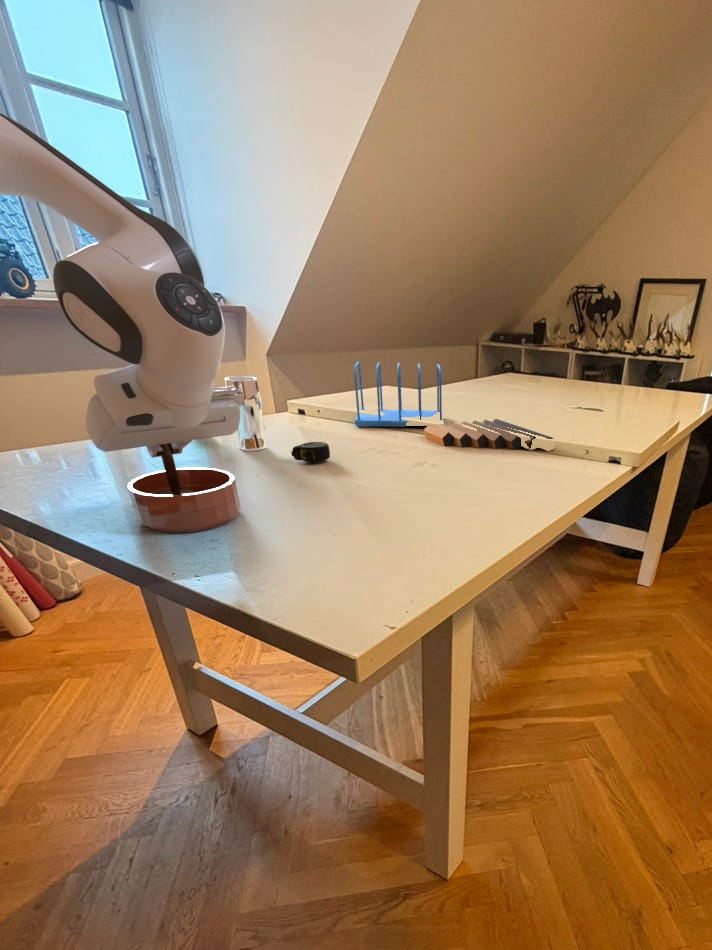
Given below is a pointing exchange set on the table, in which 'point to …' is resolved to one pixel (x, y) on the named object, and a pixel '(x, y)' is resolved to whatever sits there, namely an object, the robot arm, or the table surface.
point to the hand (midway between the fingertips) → (164, 451)
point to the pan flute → (480, 435)
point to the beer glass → (249, 413)
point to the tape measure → (311, 452)
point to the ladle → (171, 473)
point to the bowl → (185, 500)
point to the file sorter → (394, 416)
